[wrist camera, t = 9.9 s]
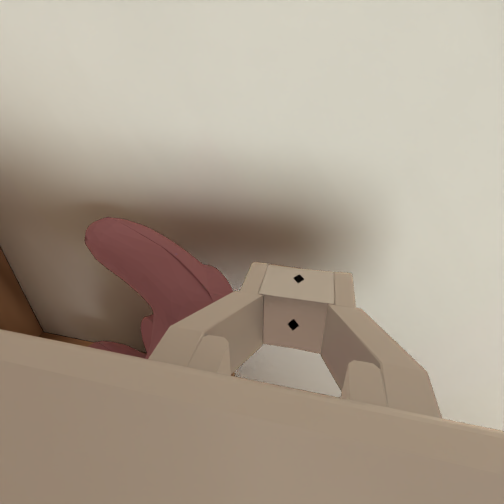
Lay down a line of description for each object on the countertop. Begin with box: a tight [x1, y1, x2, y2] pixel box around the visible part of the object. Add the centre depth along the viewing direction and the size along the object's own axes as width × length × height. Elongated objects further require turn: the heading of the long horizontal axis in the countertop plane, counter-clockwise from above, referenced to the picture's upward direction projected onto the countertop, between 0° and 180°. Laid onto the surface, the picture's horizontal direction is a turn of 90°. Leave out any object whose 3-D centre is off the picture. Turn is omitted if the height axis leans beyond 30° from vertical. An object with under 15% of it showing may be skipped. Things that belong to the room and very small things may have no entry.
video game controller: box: [85, 217, 233, 359], centre depth 13 cm, size 10×5×7 cm
